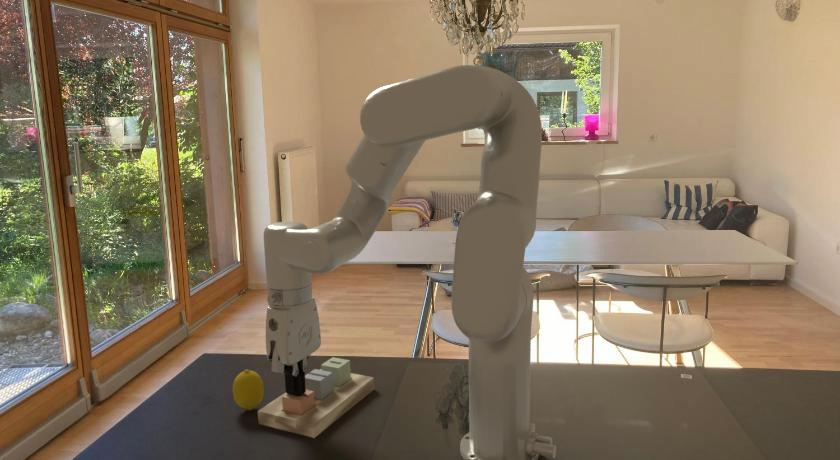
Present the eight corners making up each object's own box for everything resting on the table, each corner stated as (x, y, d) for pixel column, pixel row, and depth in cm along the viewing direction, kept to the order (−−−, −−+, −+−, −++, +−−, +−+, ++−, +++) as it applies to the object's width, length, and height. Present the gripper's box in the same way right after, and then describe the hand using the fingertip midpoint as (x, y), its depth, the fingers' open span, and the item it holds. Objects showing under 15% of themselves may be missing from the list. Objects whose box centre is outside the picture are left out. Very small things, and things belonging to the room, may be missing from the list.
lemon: (257, 418, 115) (253, 377, 114) (229, 416, 117) (225, 375, 115) (270, 404, 121) (267, 364, 119) (243, 402, 122) (239, 362, 120)
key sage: (351, 381, 125) (349, 359, 124) (339, 389, 122) (338, 367, 121) (334, 377, 127) (332, 356, 126) (322, 386, 124) (320, 364, 123)
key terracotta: (316, 414, 115) (315, 391, 114) (303, 424, 111) (301, 400, 110) (296, 409, 117) (294, 386, 116) (282, 419, 113) (280, 395, 112)
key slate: (333, 394, 120) (332, 371, 119) (321, 403, 116) (320, 380, 116) (316, 390, 122) (314, 368, 121) (303, 399, 118) (302, 376, 117)
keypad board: (374, 389, 126) (373, 377, 125) (314, 438, 108) (313, 424, 108) (323, 378, 131) (322, 367, 130) (258, 423, 113) (257, 410, 113)
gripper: (279, 310, 101) (286, 416, 105) (332, 285, 114) (337, 380, 118) (243, 304, 105) (250, 407, 108) (298, 280, 118) (304, 373, 122)
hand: (295, 392), depth 113 cm, fingers closed
